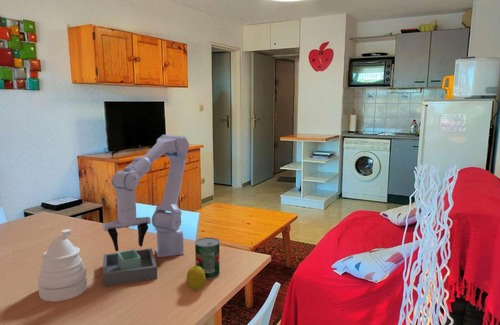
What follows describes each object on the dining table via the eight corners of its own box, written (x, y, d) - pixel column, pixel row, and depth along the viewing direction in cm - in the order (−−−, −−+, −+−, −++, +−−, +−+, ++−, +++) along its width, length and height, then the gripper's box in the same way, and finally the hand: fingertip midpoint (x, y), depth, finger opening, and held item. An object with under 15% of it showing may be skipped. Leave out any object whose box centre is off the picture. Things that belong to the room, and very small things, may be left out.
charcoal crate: (152, 259, 132) (151, 248, 132) (157, 278, 118) (156, 266, 117) (104, 265, 127) (103, 254, 126) (103, 286, 112) (102, 274, 112)
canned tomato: (191, 272, 122) (190, 241, 120) (210, 266, 127) (210, 235, 125) (204, 281, 116) (203, 248, 114) (224, 274, 121) (224, 242, 119)
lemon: (202, 296, 107) (201, 270, 106) (184, 294, 108) (183, 268, 107) (208, 287, 112) (207, 262, 111) (190, 285, 113) (190, 260, 112)
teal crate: (135, 262, 127) (134, 249, 127) (141, 271, 121) (140, 257, 120) (118, 266, 124) (117, 252, 124) (123, 275, 118) (122, 260, 117)
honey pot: (75, 276, 119) (71, 222, 116) (95, 288, 111) (91, 231, 108) (31, 291, 109) (26, 233, 107) (50, 306, 101) (45, 243, 98)
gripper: (145, 201, 126) (147, 239, 128) (100, 208, 119) (103, 248, 121) (151, 206, 120) (153, 246, 122) (104, 213, 113) (107, 255, 115)
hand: (128, 247), depth 121 cm, fingers open, 7 cm apart
